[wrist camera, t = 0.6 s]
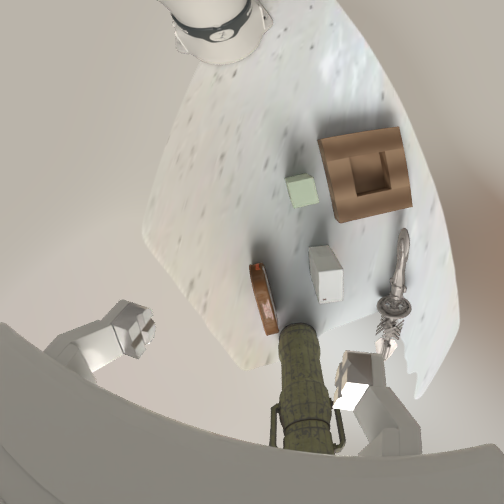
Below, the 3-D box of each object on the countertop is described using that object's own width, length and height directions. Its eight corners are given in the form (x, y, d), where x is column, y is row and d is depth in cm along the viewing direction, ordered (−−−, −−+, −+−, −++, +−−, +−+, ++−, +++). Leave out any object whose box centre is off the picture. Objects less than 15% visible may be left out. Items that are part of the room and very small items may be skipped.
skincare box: (330, 272, 55) (343, 302, 44) (309, 274, 55) (318, 305, 44) (329, 243, 53) (344, 268, 41) (307, 245, 53) (317, 271, 42)
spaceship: (432, 230, 42) (406, 241, 40) (402, 362, 57) (379, 376, 55) (402, 217, 49) (375, 226, 47) (384, 344, 64) (361, 357, 62)
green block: (284, 178, 49) (287, 183, 41) (306, 173, 48) (313, 177, 40) (290, 198, 50) (293, 208, 42) (311, 194, 50) (319, 202, 41)
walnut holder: (317, 140, 46) (321, 139, 42) (390, 127, 44) (398, 126, 40) (334, 218, 51) (339, 223, 47) (403, 202, 49) (412, 206, 45)
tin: (249, 258, 55) (245, 276, 47) (264, 254, 54) (263, 273, 47) (266, 320, 60) (265, 344, 52) (280, 318, 59) (281, 342, 51)
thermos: (268, 326, 60) (263, 472, 27) (321, 318, 59) (353, 460, 26) (274, 355, 63) (272, 490, 30) (323, 348, 62) (348, 481, 29)
